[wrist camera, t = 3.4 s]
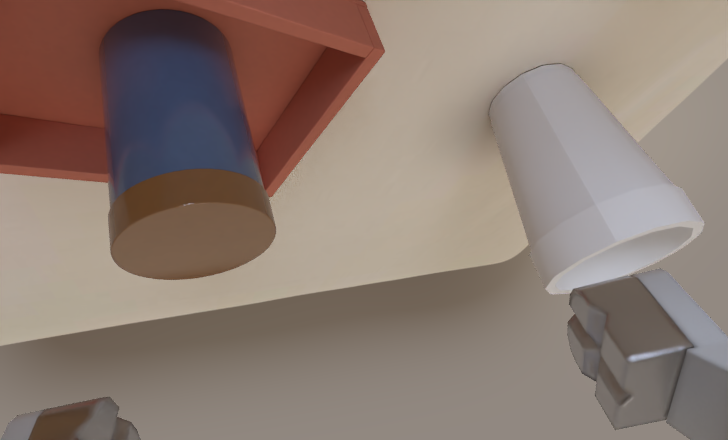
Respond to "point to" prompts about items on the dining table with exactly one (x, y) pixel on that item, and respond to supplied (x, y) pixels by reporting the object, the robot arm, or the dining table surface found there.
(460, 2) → the dining table surface
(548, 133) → the foam cup
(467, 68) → the dining table surface
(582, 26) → the dining table surface
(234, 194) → the jar
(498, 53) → the dining table surface
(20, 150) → the tray
